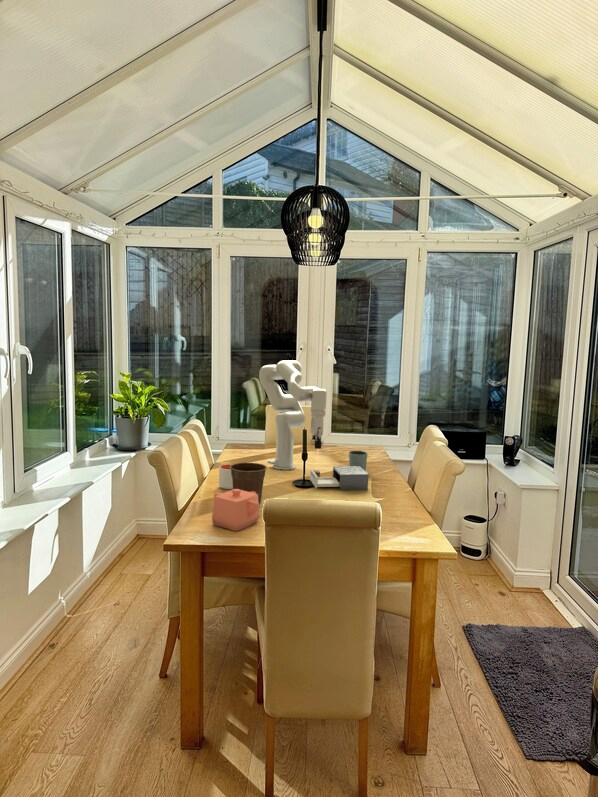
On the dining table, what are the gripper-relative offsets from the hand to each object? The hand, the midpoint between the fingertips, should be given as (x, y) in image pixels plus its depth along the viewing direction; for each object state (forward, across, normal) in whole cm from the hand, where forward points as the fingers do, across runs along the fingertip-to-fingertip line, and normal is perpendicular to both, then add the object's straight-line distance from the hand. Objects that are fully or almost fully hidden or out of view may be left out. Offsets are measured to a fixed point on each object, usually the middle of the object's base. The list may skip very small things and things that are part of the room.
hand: (316, 446), depth 282 cm
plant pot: (+17, +36, -38) cm, 55 cm away
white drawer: (+16, +13, +3) cm, 21 cm away
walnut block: (+17, 0, 0) cm, 17 cm away
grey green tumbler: (+17, -8, +25) cm, 32 cm away
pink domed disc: (-1, 0, 0) cm, 1 cm away
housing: (+17, +14, +15) cm, 26 cm away
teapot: (+17, +62, -43) cm, 77 cm away
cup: (+18, +14, -45) cm, 50 cm away
